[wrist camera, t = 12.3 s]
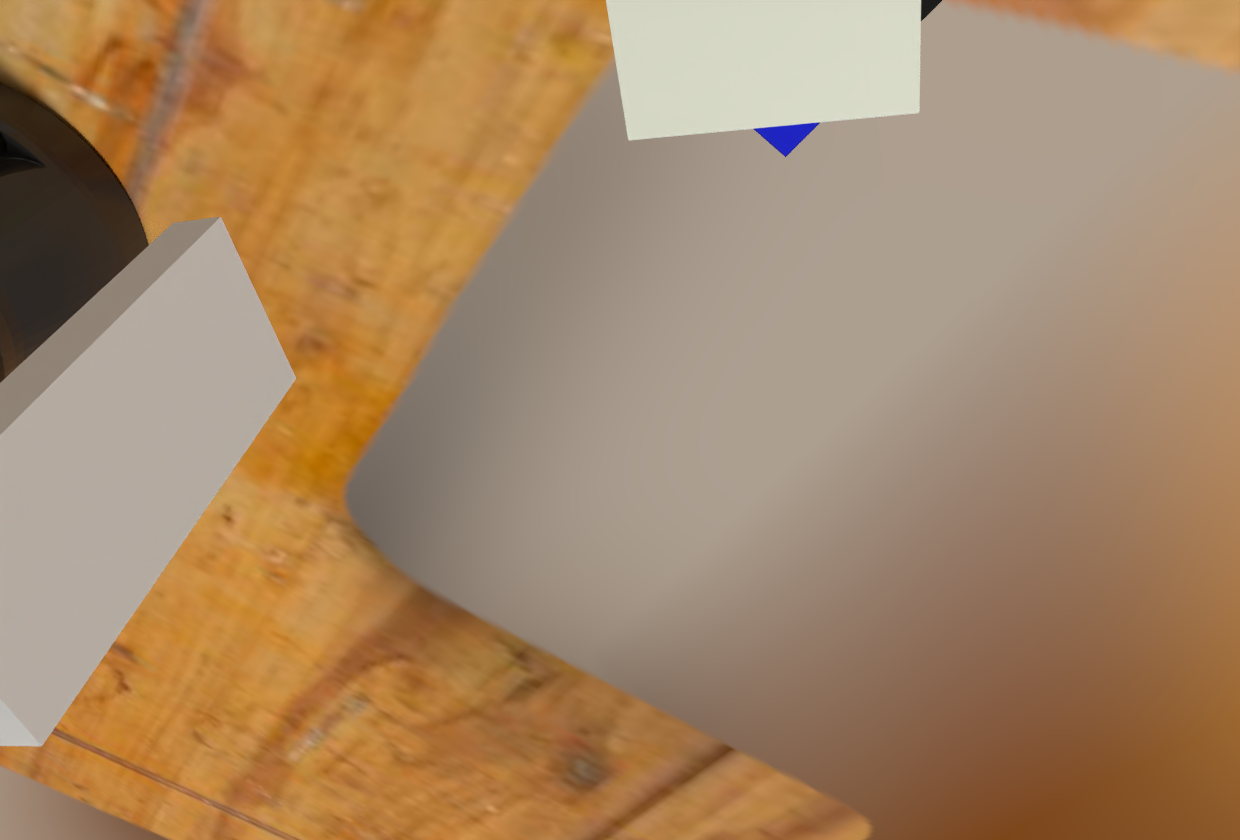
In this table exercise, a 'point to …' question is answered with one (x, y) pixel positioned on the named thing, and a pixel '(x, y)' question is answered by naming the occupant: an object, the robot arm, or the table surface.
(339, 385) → the table surface
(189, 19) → the table surface
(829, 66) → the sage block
